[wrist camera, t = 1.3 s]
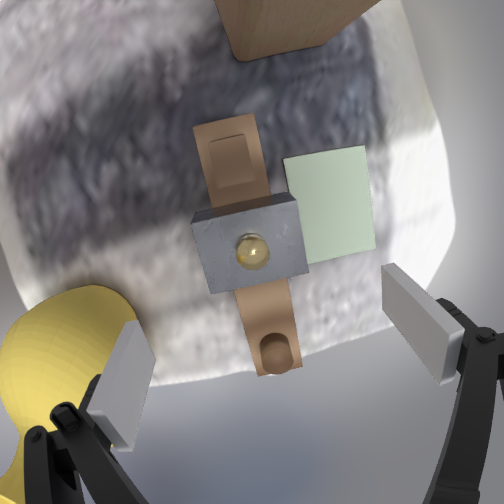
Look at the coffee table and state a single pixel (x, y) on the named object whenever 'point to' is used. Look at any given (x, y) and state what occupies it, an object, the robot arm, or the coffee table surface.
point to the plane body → (237, 190)
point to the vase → (55, 362)
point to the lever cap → (250, 242)
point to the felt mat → (332, 201)
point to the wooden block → (284, 24)
